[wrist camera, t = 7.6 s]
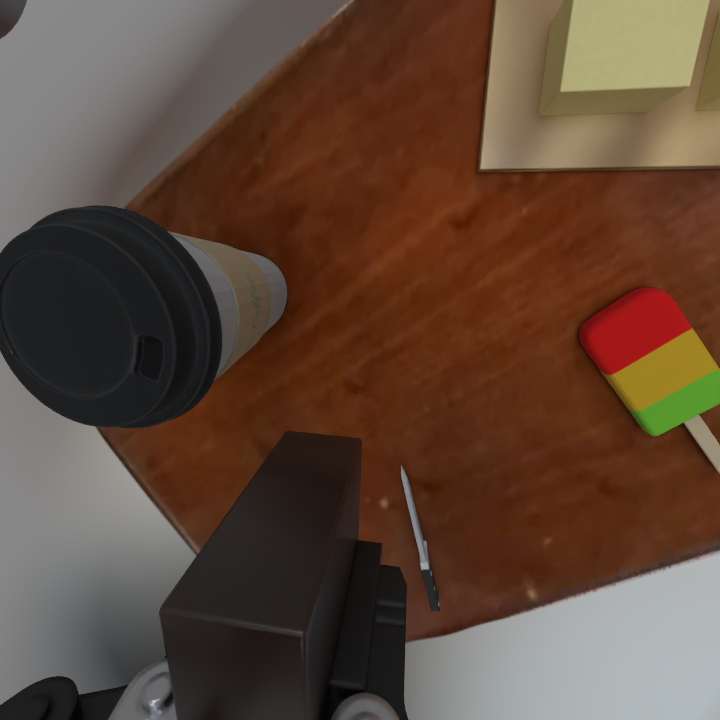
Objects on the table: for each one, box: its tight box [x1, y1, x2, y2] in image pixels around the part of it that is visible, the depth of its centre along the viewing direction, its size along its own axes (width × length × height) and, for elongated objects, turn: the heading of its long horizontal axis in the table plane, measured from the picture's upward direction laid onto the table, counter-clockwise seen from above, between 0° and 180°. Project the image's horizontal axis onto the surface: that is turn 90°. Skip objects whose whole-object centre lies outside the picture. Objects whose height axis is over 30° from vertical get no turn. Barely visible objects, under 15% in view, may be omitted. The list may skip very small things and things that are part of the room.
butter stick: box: [539, 0, 710, 116], centre depth 19 cm, size 6×4×4 cm
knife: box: [401, 466, 440, 611], centre depth 31 cm, size 15×1×2 cm, turn 14°
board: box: [478, 0, 720, 173], centre depth 20 cm, size 18×10×1 cm, turn 89°
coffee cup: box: [0, 206, 287, 428], centre depth 21 cm, size 9×9×15 cm
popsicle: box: [578, 287, 720, 474], centre depth 25 cm, size 6×15×2 cm, turn 40°
